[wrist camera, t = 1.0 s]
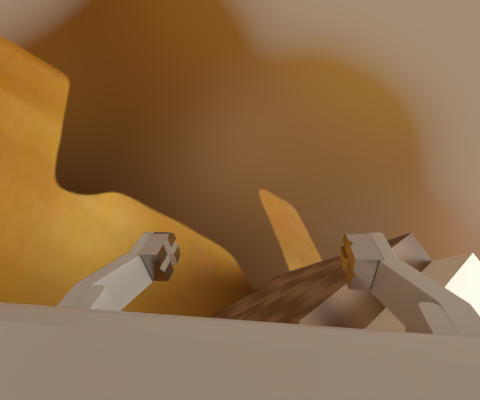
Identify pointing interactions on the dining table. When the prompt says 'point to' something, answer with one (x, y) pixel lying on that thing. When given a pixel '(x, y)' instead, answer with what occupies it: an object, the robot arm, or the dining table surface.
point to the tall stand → (320, 294)
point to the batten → (449, 276)
